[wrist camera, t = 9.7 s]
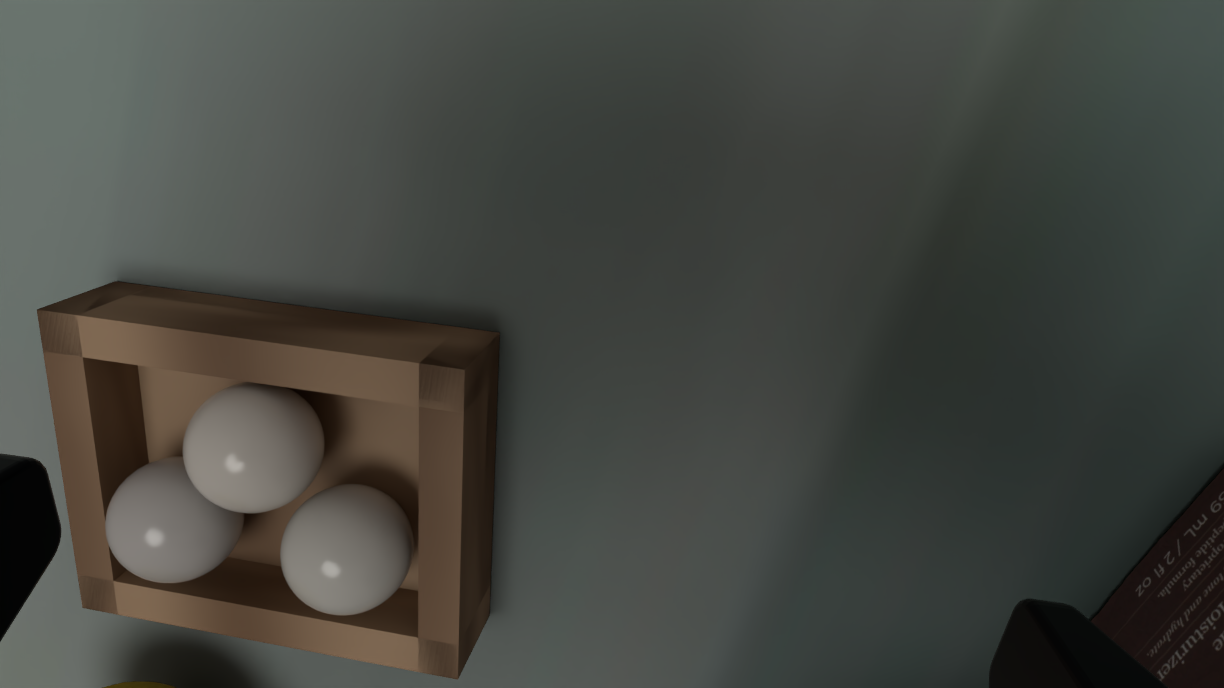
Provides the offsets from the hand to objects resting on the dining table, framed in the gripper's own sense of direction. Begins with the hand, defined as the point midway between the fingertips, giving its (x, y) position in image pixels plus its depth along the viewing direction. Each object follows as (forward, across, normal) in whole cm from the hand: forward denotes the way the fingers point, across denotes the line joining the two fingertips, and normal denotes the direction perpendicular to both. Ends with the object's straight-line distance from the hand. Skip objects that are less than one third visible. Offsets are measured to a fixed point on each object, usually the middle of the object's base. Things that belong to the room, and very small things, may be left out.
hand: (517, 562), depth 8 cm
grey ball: (+11, +8, +7) cm, 15 cm away
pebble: (+11, +10, +9) cm, 17 cm away
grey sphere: (+11, +5, +9) cm, 15 cm away
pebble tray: (+12, +8, +8) cm, 16 cm away
